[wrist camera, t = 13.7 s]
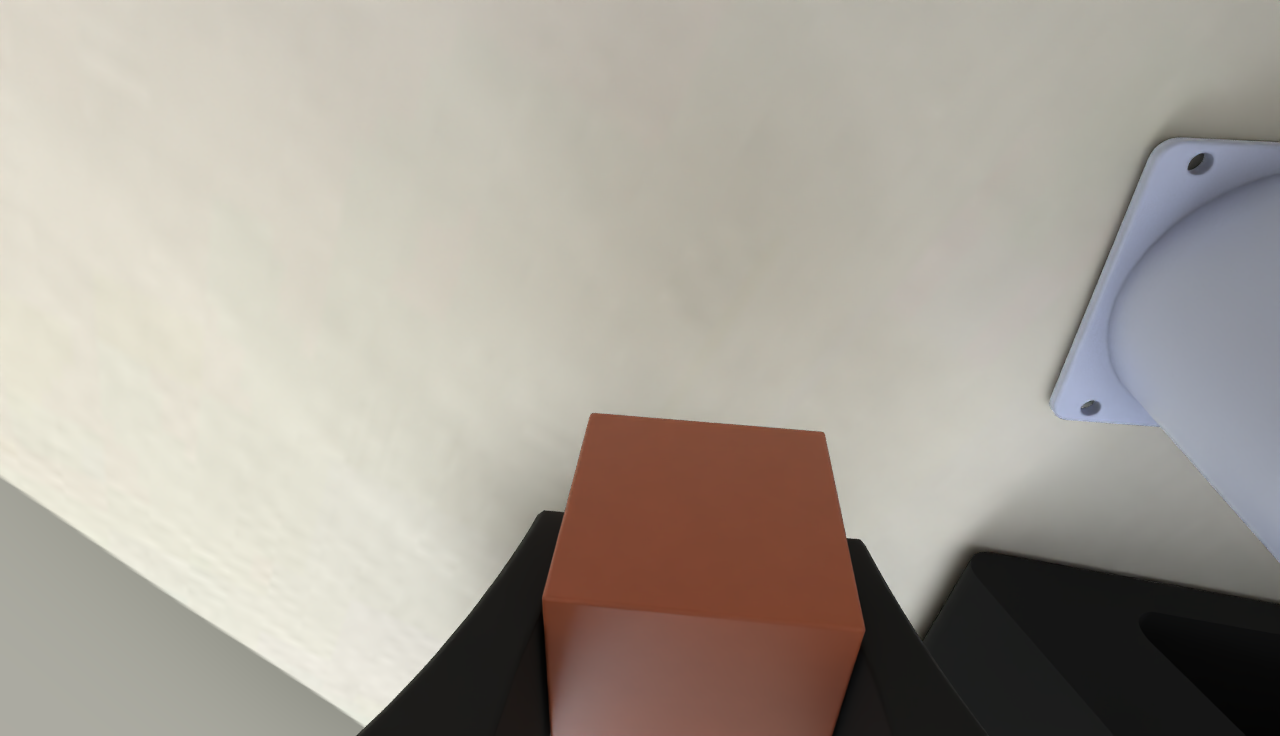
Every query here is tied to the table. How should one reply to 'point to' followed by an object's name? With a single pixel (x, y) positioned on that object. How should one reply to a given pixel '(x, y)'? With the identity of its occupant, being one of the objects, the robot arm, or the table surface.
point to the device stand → (1105, 654)
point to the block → (700, 584)
